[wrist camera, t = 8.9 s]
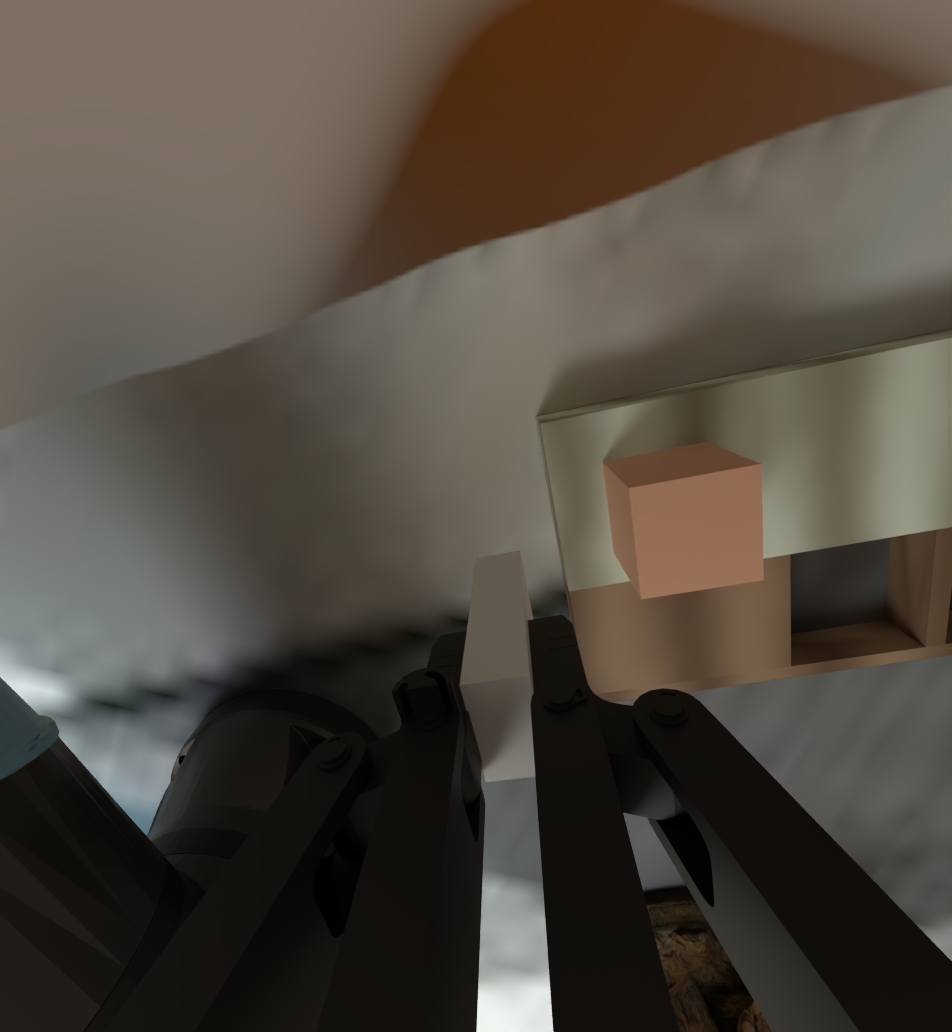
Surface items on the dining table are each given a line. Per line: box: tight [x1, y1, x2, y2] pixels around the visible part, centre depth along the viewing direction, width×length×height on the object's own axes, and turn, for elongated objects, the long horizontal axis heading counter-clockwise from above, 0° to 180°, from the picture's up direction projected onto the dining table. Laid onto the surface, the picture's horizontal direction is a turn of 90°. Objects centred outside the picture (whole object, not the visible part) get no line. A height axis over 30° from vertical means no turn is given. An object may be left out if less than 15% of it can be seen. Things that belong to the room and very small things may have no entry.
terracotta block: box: [602, 442, 764, 599], centre depth 21 cm, size 5×5×5 cm
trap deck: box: [536, 329, 952, 703], centre depth 23 cm, size 28×17×7 cm, turn 102°
